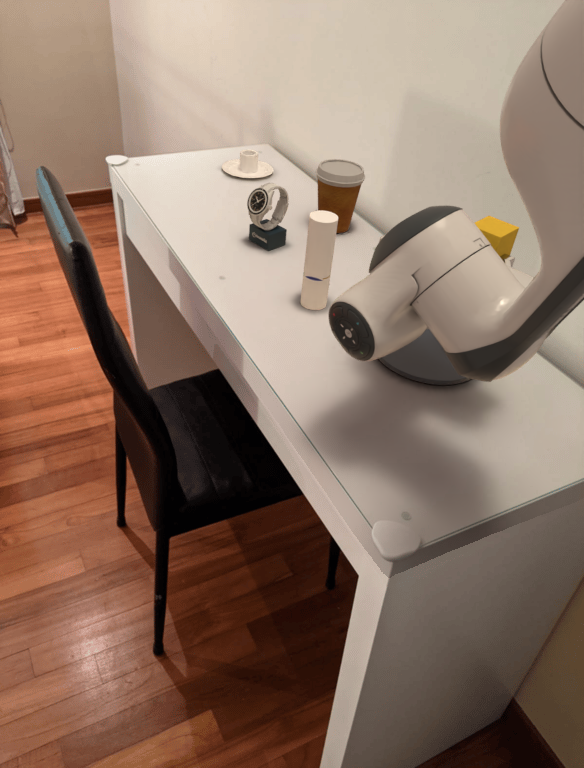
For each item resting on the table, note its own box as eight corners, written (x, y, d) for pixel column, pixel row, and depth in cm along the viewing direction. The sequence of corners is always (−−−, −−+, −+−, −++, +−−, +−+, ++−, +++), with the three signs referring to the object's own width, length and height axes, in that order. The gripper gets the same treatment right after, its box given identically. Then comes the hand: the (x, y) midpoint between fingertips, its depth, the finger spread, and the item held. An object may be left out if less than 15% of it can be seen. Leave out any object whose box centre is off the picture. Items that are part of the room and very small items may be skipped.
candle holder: (234, 183, 136) (235, 164, 133) (213, 164, 144) (213, 145, 141) (282, 177, 141) (283, 159, 138) (259, 159, 149) (260, 141, 146)
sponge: (480, 299, 82) (500, 237, 76) (452, 286, 84) (469, 224, 78) (498, 288, 85) (519, 227, 79) (470, 275, 87) (489, 215, 81)
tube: (318, 294, 102) (329, 209, 93) (331, 307, 99) (343, 220, 90) (295, 298, 100) (304, 212, 91) (307, 312, 98) (318, 224, 88)
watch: (240, 242, 114) (242, 185, 107) (272, 231, 119) (276, 176, 112) (260, 254, 111) (264, 196, 104) (292, 242, 116) (297, 186, 109)
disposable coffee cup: (357, 219, 127) (366, 161, 119) (356, 239, 119) (366, 179, 112) (311, 213, 127) (318, 155, 119) (308, 233, 119) (314, 173, 112)
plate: (492, 339, 96) (494, 334, 95) (470, 400, 84) (472, 395, 83) (390, 307, 101) (391, 302, 100) (355, 361, 88) (356, 356, 88)
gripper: (518, 298, 66) (571, 260, 74) (370, 231, 76) (431, 204, 85) (501, 345, 70) (553, 304, 78) (362, 275, 80) (421, 246, 89)
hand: (489, 252), depth 82 cm, fingers closed on sponge, 4 cm apart
